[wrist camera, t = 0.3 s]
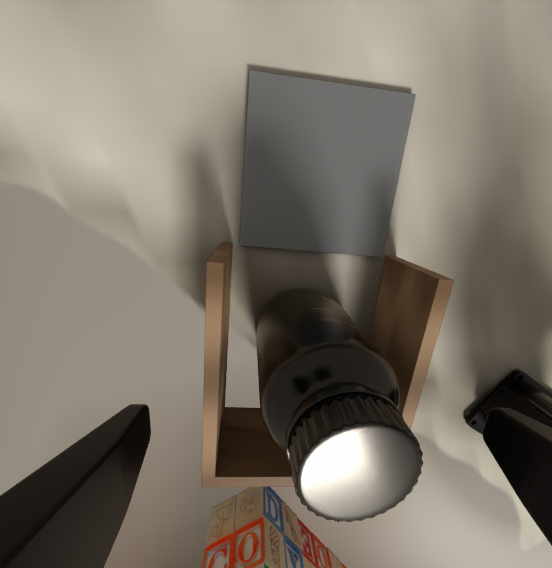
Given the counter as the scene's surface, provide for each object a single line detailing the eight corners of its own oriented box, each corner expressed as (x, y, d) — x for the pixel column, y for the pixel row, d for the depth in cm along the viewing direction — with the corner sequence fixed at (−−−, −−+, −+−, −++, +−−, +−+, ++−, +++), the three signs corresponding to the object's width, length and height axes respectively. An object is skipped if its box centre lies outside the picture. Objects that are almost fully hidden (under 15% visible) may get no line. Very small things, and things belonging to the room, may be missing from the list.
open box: (361, 417, 24) (394, 485, 18) (214, 415, 23) (201, 486, 17) (396, 256, 20) (453, 280, 14) (220, 242, 19) (206, 261, 13)
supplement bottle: (314, 379, 23) (377, 562, 11) (240, 344, 21) (225, 514, 10) (362, 310, 21) (490, 441, 10) (286, 268, 20) (331, 364, 8)
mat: (379, 255, 20) (381, 256, 20) (239, 244, 19) (239, 245, 19) (412, 96, 17) (415, 94, 17) (249, 73, 16) (249, 70, 16)
